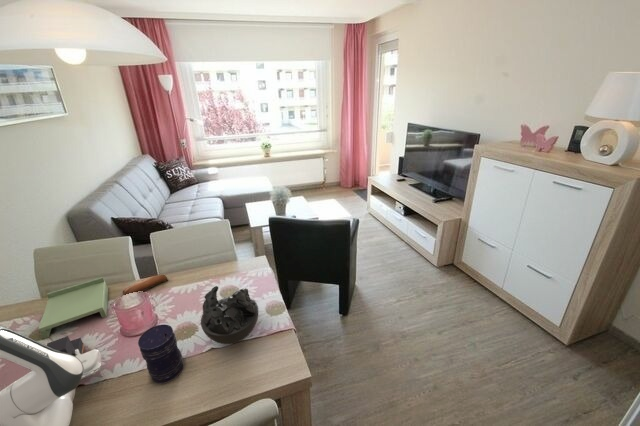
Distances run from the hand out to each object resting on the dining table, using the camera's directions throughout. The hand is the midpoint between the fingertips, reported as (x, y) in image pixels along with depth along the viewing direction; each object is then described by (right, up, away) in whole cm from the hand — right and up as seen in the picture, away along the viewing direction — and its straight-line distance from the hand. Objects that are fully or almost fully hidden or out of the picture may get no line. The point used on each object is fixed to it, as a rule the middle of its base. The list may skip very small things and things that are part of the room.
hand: (63, 356), depth 94 cm
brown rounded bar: (+1, +11, +43) cm, 45 cm away
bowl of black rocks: (+51, +1, +15) cm, 53 cm away
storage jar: (+33, -6, +2) cm, 33 cm away
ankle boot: (-2, -5, +5) cm, 8 cm away
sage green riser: (-19, +4, +30) cm, 36 cm away
